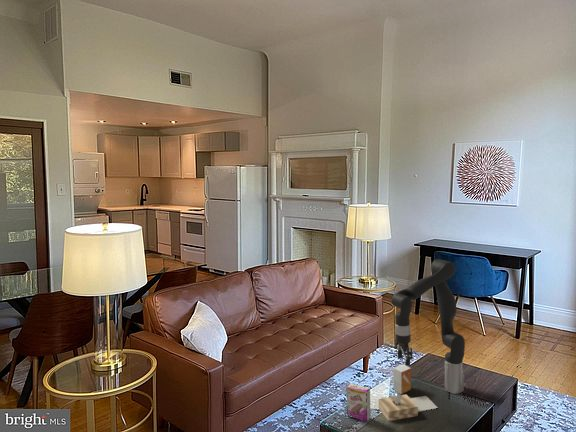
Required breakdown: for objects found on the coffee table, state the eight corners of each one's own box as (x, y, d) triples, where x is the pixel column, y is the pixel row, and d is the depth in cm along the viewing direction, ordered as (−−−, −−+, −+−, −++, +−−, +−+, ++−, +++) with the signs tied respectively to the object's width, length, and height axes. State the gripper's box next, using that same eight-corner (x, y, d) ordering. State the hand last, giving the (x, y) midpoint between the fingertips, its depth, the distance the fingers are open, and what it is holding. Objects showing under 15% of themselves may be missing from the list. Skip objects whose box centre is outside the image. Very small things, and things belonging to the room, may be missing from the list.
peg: (399, 409, 225) (398, 391, 224) (401, 413, 222) (401, 394, 221) (393, 410, 225) (393, 392, 223) (396, 413, 222) (396, 395, 220)
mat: (425, 396, 236) (425, 395, 236) (437, 408, 225) (437, 407, 225) (405, 399, 234) (405, 399, 234) (416, 412, 222) (416, 411, 222)
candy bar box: (346, 417, 221) (345, 386, 219) (350, 411, 225) (349, 382, 223) (367, 423, 215) (366, 392, 213) (371, 417, 219) (370, 387, 217)
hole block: (406, 403, 231) (406, 394, 230) (417, 415, 219) (417, 406, 219) (378, 407, 228) (378, 399, 227) (388, 421, 216) (388, 411, 215)
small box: (401, 394, 240) (401, 372, 238) (393, 389, 245) (392, 367, 243) (411, 389, 244) (411, 367, 242) (402, 385, 249) (402, 363, 248)
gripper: (416, 336, 216) (417, 367, 218) (402, 326, 229) (404, 354, 232) (402, 339, 214) (403, 369, 216) (389, 328, 228) (391, 357, 230)
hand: (403, 362), depth 224 cm, fingers open, 8 cm apart
